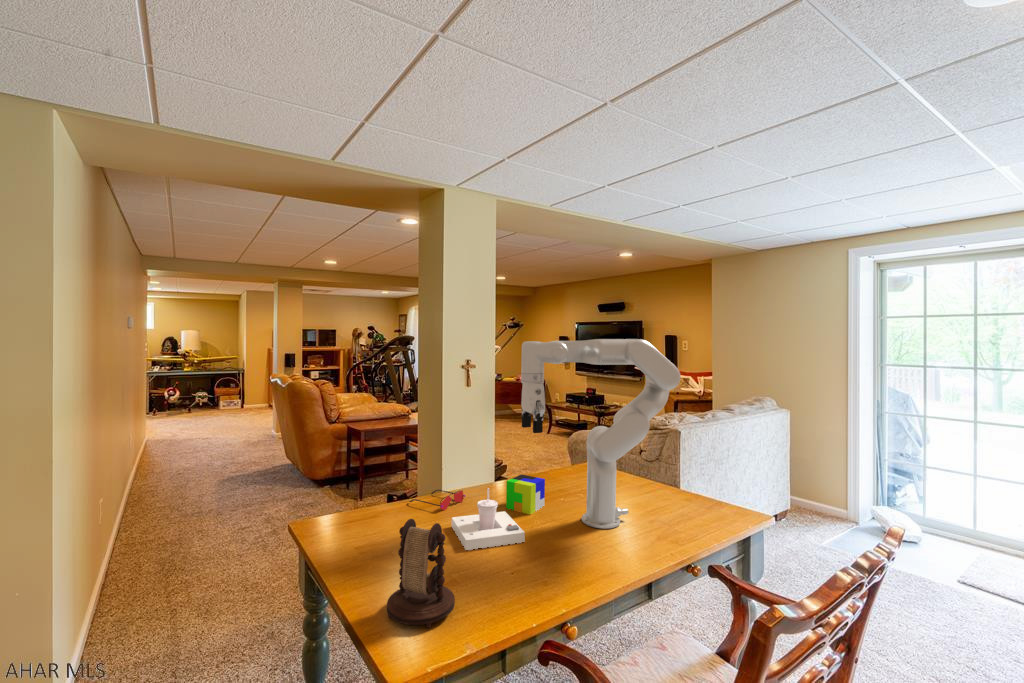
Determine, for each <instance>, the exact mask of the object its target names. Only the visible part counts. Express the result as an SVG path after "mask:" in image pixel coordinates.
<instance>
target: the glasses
mask: <svg viewBox="0 0 1024 683" xmlns="http://www.w3.org/2000/svg"><path fill="white" fill-rule="evenodd" d="M436 492H443V493H447V494H449V495H447V496H445V497H443V498H442V499H440V503H439V504H436V503H433V502H428V501H425V500H420V499H411V500H410V501H409V502H411V503H412V502H414V501H418V502H420V503H425V504H429V505H432V506H436V507H437V506H438V507H439V508H440V509H441V511H444V510H445V511H447V509H448V507H449V505H451V501H452V502H453V503H455V502H456V503H463V502H464V501H463V500H464V498H465V497H466V495H465V494H464V491H463V489H462V490H458V491H455V492H452V491H451V492H450V491H446V490H441V489H436V490H434V491H432V492H431V493H430V495H433V494H435V493H436ZM451 496H453V498H452V497H451Z"/></svg>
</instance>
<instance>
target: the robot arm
mask: <svg viewBox="0 0 1024 683" xmlns="http://www.w3.org/2000/svg"><path fill="white" fill-rule="evenodd" d="M545 363H546V364H554V365H559V364H563V363H584V364H590V365H598V366H599V365H600V366H602V365H603V366H604V365H605V366H607V365H608V366H609V365H611V366H612V365H613V366H614V365H617V366H618V365H619V366H620V365H622V366H623V365H625V366H627V365H630V366H631V365H634V366H635V367H637V368H638V370H640V371H641V372H642V374H644V376H645V385H644V388H643V390H642V391H640V393H639V394H638V395H637V396H636V397H634V399H632V400H631V401H629V403H627V404H626V405H624V406H623V407H622V408H620V409H619V410H617V412H616V413H615V414H614V416H613V424H611V426H610V427H607V426H605V425H598V426H597V425H596V426H595V427H593V428H592V429H591V430H589V431H588V434H587V437H586V460H587V463H586V467H587V468H586V470H587V471H586V510H585V511H586V512H585V513H583V514H582V516H581V521H582V523H583V524H585V525H586V526H589V527H592V528H595V529H601V530H603V529H613V528H614V529H615V528H617V527H619V526H620V524H621V519H620V517H621V516H624V515H629V509H628V508H627V507H625V508H621V507H620V506H616V505H617V504H616V503H617V499H616V498H617V496H616V495H617V493H616V492H617V460H619V459H620V458H622V457H623V456H625V455H626V454H627V453H629V451H631V450H632V449H633V448H634V447H636V446H638V445H639V444H640V443H641V442H642V441H644V439H645V438H646V436H647V435H648V434H649V432H650V421H651V420H652V419H653V418H654V417H656V416H657V415H658V414H659V413H660V412H661V411H662V410H663V409H664V407H665V406H666V404H667V402H668V400H669V396H670V391H671V390H674V389H676V388H677V387H678V386H679V384H680V382H681V377H682V376H681V372H680V370H679V369H678V367H677V365H675V363H673V362H671V360H670V359H668V358H667V357H666V356H665V355H664V354H663V353H661V352H660V351H659V350H658V349H657V348H656V347H655V346H654V345H653V344H652V343H650V342H649V341H647V340H646V339H642V338H640V339H639V338H625V339H624V338H595V339H587V340H586V339H585V340H551V341H546V342H544V341H543V342H542V341H537V340H535V341H533V340H532V341H531V340H530V341H527V340H526V341H523V342H522V344H521V370H520V373H521V374H520V375H521V378H520V379H521V382H520V383H521V384H522V389H521V399H520V400H521V401H520V404H521V408H520V410H521V427H522V428H523V429H524V428H531V426H532V433H533V434H541V433H543V429H544V428H543V425H544V424H543V421H544V416H545V415H544V414H545V412H546V396H545V394H546V393H545V386H544V383H545ZM531 414H532V415H531ZM532 416H533V420H532Z"/></svg>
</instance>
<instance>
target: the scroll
mask: <svg viewBox="0 0 1024 683" xmlns="http://www.w3.org/2000/svg"><path fill="white" fill-rule="evenodd" d="M442 531H443V530H442V526H441V524H440V523H438V522H435V523H434V524H433V525H432V526H431V528H430V529H428V528H421V527H417V524H416V521H415V519H414V518H409V519H407V521H406V522H405V523H404V525H403V526H402V527H400V529H399V534H400V536H399V538H400V543H399V545H400V548H399V549H398V550H397V551H398V556H399V558H400V562H399V567H400V569H399V570H398V575H399V579H400V582H399V584H398V586H399V587H398V588H399V589H397V590H396V591H394V592H393V593H392V594H390V596H388V599H387V602H386V613H387V615H388V618H389V620H390V619H392V620H393V621H396V622H398V623H400V624H404V625H410V626H411V625H412V626H421V625H425V626H426V628H427V629H431V626H432V623H436V622H438V621H440V620H443V619H444V618H446V617H447V616H449V615H450V614H451V612H452V611H453V610H454V608H455V605H456V602H455V601H456V600H455V599H456V596H455V595H454V594H455V593H454V592H453V591H452V590H451V589H450V588H448V587H447V586H445V585H444V583H445V582H446V579H445V576H444V574H445V570H444V566H445V564H446V561H447V558H446V555H445V547H444V545H445V544H446V543H445V542H446V541H445V540H446V534H444V533H443V532H442ZM436 550H437V552H436ZM435 552H436V553H437V555H435V554H434V553H435ZM429 561H430V562H432V563H433V562H435V564H436V565H434V566H433V567H432V569H431V570H430V573H429V572H428V568H429V567H428V565H429Z"/></svg>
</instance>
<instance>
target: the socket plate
mask: <svg viewBox="0 0 1024 683" xmlns="http://www.w3.org/2000/svg"><path fill="white" fill-rule="evenodd" d="M451 528H452V529H453V531H455V532H454V533H455V535H456V537H457V536H458V537H457V538H458V540H459V542H460V541H461V542H460V543H461V545H462V546H464V547H463V548H464V550H465V551H466V550H468V551H472V550H473V549H475V550H479V549H478V548H482V549H488V548H487V547H489V548H495V546H496V547H502V546H501V545H503V546H509V545H508V544H510V545H515V543H517V544H523V543H522V542H524V543H525V542H526V540H525V537H526V534H525V533H526V532H525V530H523V528H521V527H520V526H519V525H518V523H517V522H516V521H514V519H513V518H512V517H511V515H509V514H508V513H507V512H506V510H505V511H496V516H495V523H494V529H489V530H481V529H480V519H479V513H478V514H470V515H463V516H462V515H461V516H454V517H451Z"/></svg>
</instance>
